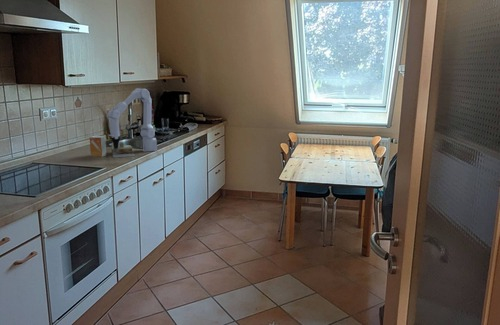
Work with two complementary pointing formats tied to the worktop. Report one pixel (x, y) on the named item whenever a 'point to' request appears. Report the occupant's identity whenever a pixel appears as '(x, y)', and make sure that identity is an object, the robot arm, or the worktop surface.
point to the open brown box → (121, 151)
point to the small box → (98, 146)
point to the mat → (123, 155)
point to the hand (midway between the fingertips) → (116, 148)
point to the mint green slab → (122, 146)
